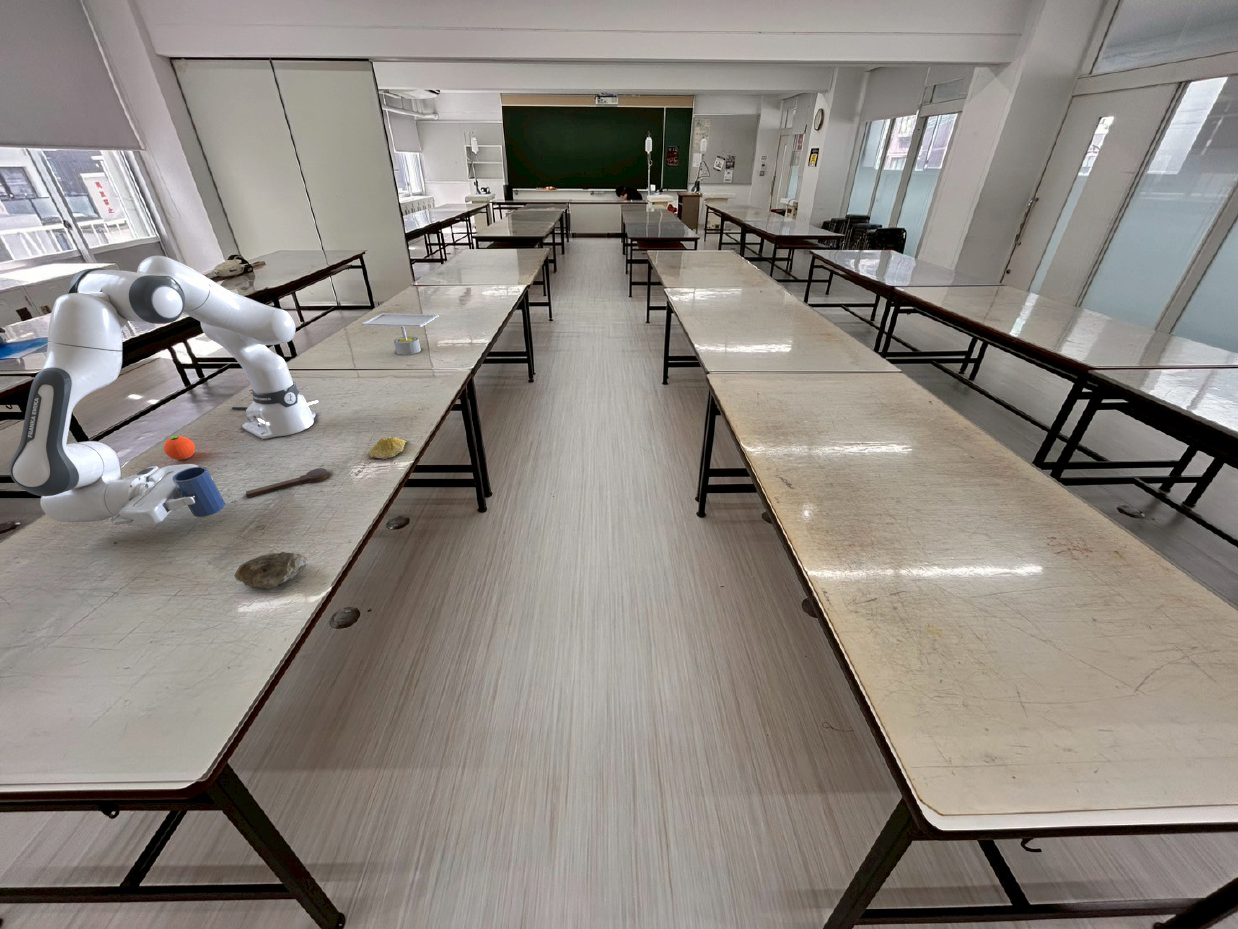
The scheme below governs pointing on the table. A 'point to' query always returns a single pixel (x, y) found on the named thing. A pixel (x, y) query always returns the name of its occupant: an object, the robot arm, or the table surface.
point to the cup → (199, 490)
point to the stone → (271, 569)
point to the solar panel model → (402, 320)
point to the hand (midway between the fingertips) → (203, 489)
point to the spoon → (291, 482)
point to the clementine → (179, 447)
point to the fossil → (387, 448)
